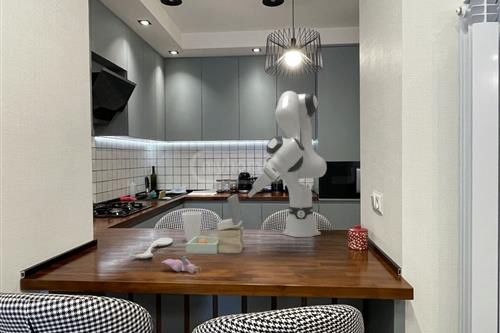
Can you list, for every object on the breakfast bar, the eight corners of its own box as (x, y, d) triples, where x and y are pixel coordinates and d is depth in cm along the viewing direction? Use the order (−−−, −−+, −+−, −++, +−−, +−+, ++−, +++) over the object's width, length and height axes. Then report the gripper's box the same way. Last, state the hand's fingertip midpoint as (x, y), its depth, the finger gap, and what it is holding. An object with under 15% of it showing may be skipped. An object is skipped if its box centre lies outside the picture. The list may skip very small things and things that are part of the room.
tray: (195, 245, 155) (195, 236, 155) (223, 245, 153) (223, 236, 153) (186, 253, 142) (185, 243, 142) (216, 254, 140) (216, 244, 140)
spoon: (128, 263, 132) (127, 254, 132) (156, 242, 164) (156, 235, 164) (151, 263, 131) (150, 254, 131) (175, 242, 163) (175, 235, 163)
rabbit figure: (203, 274, 120) (166, 264, 125) (205, 257, 120) (168, 248, 125) (194, 280, 114) (156, 269, 119) (196, 263, 114) (158, 252, 119)
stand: (223, 247, 151) (222, 226, 151) (243, 247, 150) (243, 226, 150) (218, 252, 142) (217, 231, 142) (239, 253, 141) (239, 231, 141)
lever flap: (243, 221, 152) (237, 194, 152) (237, 227, 138) (230, 197, 138) (224, 225, 153) (218, 198, 153) (216, 231, 140) (209, 202, 140)
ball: (199, 246, 150) (199, 237, 150) (208, 247, 150) (208, 237, 149) (196, 249, 146) (196, 239, 146) (205, 249, 146) (205, 240, 145)
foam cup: (204, 237, 170) (203, 211, 170) (200, 242, 161) (199, 214, 161) (185, 237, 171) (185, 211, 171) (180, 242, 162) (179, 214, 162)
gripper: (270, 165, 153) (248, 187, 155) (265, 166, 133) (241, 192, 134) (280, 175, 152) (259, 197, 154) (277, 177, 132) (252, 203, 134)
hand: (250, 195), depth 144 cm, fingers open, 8 cm apart
